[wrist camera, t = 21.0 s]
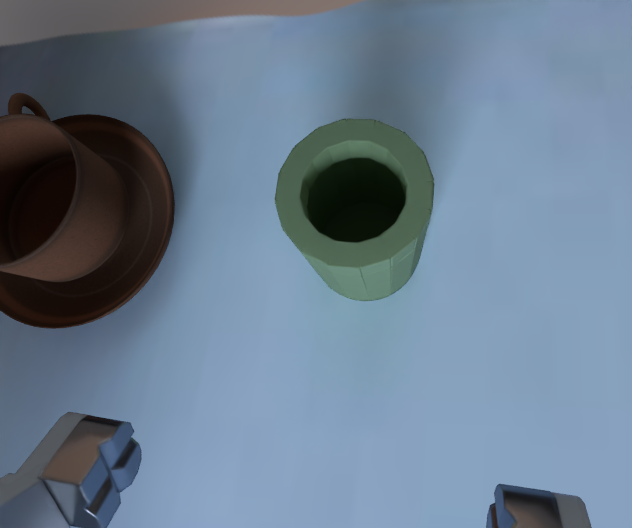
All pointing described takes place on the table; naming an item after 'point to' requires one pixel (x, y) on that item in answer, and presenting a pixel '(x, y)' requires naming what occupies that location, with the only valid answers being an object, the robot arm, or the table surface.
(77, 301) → the cup and saucer
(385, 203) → the green cylindrical container
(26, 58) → the table surface
